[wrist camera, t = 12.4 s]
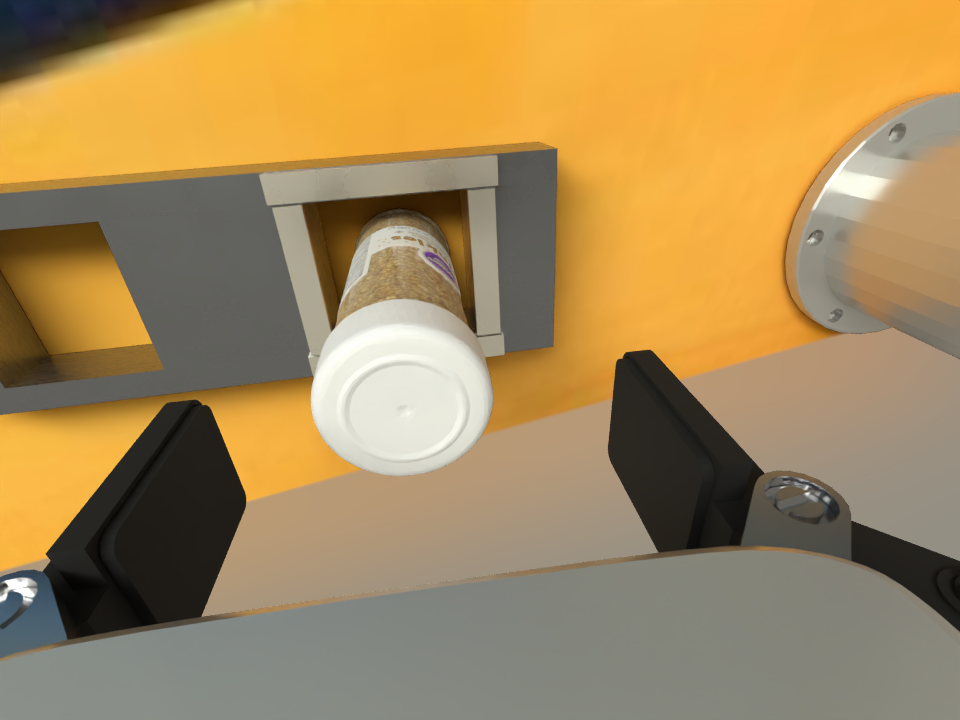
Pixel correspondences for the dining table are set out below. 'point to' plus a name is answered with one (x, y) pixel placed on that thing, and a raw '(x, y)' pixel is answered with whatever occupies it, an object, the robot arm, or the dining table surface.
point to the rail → (270, 266)
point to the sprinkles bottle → (401, 355)
